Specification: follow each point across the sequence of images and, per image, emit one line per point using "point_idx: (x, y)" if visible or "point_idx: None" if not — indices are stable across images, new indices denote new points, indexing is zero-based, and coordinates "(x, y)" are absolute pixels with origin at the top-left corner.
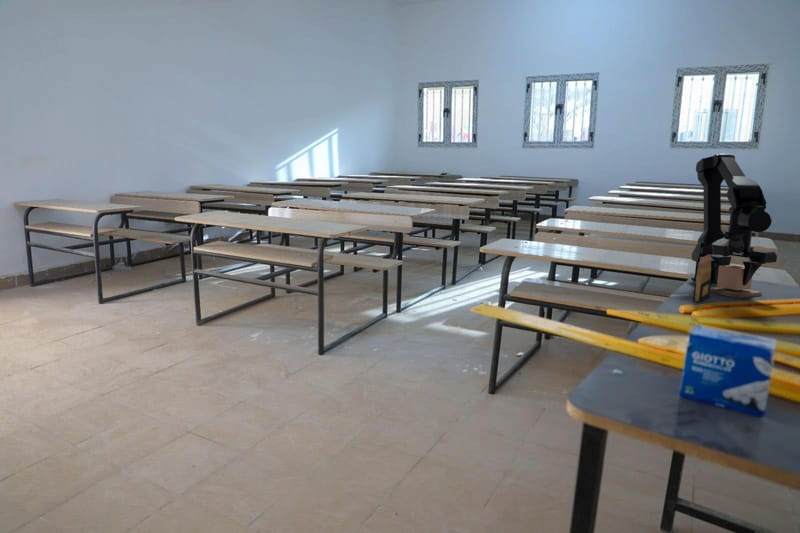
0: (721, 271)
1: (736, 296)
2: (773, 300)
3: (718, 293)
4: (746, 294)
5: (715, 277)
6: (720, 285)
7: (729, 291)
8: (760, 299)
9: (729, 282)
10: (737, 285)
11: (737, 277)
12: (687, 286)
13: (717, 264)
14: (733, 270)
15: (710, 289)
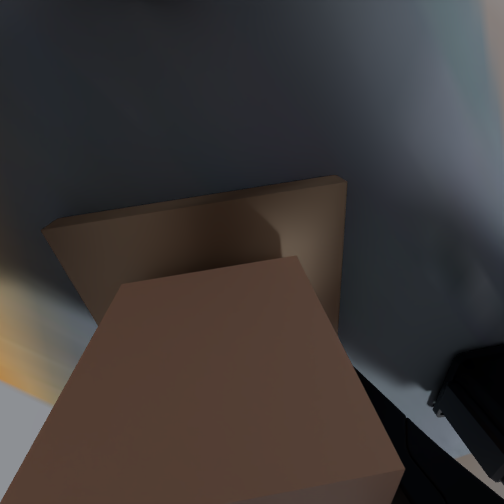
0: (307, 379)
1: (64, 220)
2: (21, 367)
3: (221, 194)
4: (90, 306)
5: (458, 403)
6: (267, 267)
7: (174, 256)
8: (40, 327)
9: (183, 308)
10: (106, 314)
11: (75, 383)
12: (500, 176)
13: (481, 490)
14: (105, 471)
15: (297, 188)
